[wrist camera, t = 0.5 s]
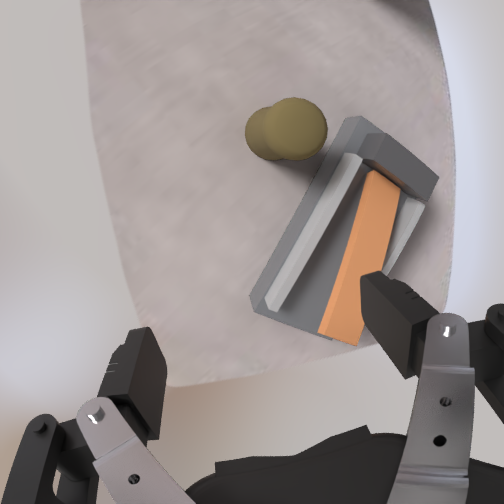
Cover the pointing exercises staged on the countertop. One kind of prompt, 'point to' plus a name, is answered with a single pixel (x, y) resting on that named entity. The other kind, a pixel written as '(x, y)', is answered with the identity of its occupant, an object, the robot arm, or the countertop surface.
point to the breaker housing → (338, 223)
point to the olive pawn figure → (287, 130)
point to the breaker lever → (361, 258)
